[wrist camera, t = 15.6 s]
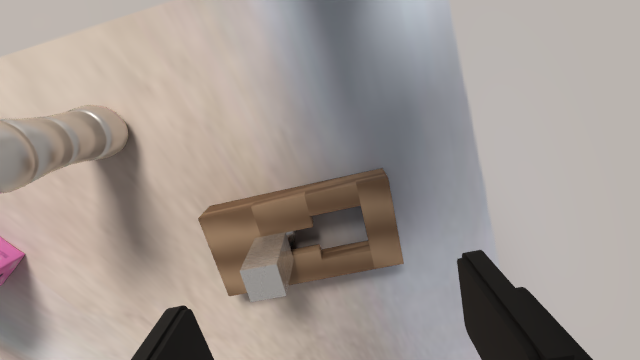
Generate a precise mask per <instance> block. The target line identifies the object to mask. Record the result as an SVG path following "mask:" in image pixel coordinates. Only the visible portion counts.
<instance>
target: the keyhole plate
mask: <svg viewBox="0 0 640 360" xmlns="http://www.w3.org/2000/svg"><path fill="white" fill-rule="evenodd" d="M356 206H361V209H362V214H363V218H364V223H365V227H366V232H367V237H368V241H363V242H358V243H353V244H348V245H343V246H338V247H332V248H327V249H322V250H321V247H320V244H318V245H313V246H308V247H303V248H298V249H293V250H291V252H292V255H293V258H294V261H293V266H292V271H291V276H290V281H289V285H292V284H297V283H303V282H308V281H313V280H319V279H324V278H329V277H335V276H340V275H345V274H351V273H356V272H361V271H367V270H372V269H377V268H383V267H388V266H393V265H399V264H404V262H403V257H402V251H401V246H400V240H399V235H398V229H397V224H396V218H395V213H394V207H393V202H392V196H391V191H390V186H389V180H388V177H387V175H386V173H385V172H384V170H383V168H381V169H376V170H372V171H367V172H363V173H358V174H354V175H349V176H344V177H340V178H335V179H331V180H326V181H322V182H317V183H313V184H308V185H304V186H299V187H294V188H290V189H285V190H281V191H276V192H272V193H267V194H263V195H258V196H254V197H249V198H245V199H240V200H235V201H231V202H226V203H222V204H217V205H213V206H209V208H208V209H207V210H206V211H205V212H204V213H203V214H202V215H201V216H200V217H199V218H198V220H199V222H200V225H201V227H202V230H203V232H204V235H205V237H206V240H207V242H208V245H209V247H210V250H211V252H212V255H213V257H214V260H215V262H216V265H217V267H218V270H219V272H220V275H221V278H222V280H223V283H224V285H225V288H226V290H227V293H228V295H229V296H234V295H239V294H244V293H247V290H246V288H245V285H244V282H243V279H242V277H241V274H240V269H241V267H242V265H243V263H244V260H245V258H246V256H247V254H248V252H249V250H250V248H251V246H252V243H253V241H254V239H255V238H258V237H263V236H268V235H273V234H278V233H283V232H291V231H295V230H300V229H305V228H310V227H313V218H312V216H314V215H318V214H323V213H328V212H333V211H337V210H342V209H347V208H352V207H356Z"/></svg>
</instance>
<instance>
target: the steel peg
mask: <svg viewBox="0 0 640 360" xmlns="http://www.w3.org/2000/svg"><path fill="white" fill-rule="evenodd" d="M295 235H296V230H295V231H291V232H283V233H278V234H273V235H268V236H263V237H258V238H255V239H254V241H253V243H252V246H251V248H250V250H249V252H248V254H247V256H246V258H245V260H244V263H243V265H242V267H241V269H240V274H241V277H242V279H243V282H244V285H245V288H246V290H247V293H248V296H249V299H250V301H251V302H255V301H260V300H266V299H272V298H277V297H283V296H287V291H288V286H289V281H290V276H291V271H292V266H293V261H294V258H293V255H292V252H291V248H290V247H291V246H292V245H293V243H294V239H295Z"/></svg>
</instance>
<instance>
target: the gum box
mask: <svg viewBox="0 0 640 360" xmlns="http://www.w3.org/2000/svg"><path fill="white" fill-rule="evenodd" d="M24 255H25V254H24V253H23V252H21V251H19V250H18V249H16V248H15V247H13V246H12V245H11V244H9V243H8V242H6V241H5V240H4V239H3V238H1V237H0V285H2V284H3V283H4V282H5V280H6V279H7V278H8V276H9V275H10V274H11V273H12V272H13V270H14V269H15V268H16V266H17V265H18V263H19V262H20V261H21V259H22V258H23V257H24Z"/></svg>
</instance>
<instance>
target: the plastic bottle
mask: <svg viewBox="0 0 640 360" xmlns="http://www.w3.org/2000/svg"><path fill="white" fill-rule="evenodd" d="M127 140H128V129H127V126H126V124H125V122H124V120H123V119H122V118H121V117H120V116H119V115H118V114H117V113H116V112H114V111H113V110H111V109H109V108H107V107H103V106H94V105H86V106H81V107H78V108H74V109H72V110H69V111H67V112H64V113H60V114H56V115H51V116H47V117H38V118H24V119H0V193H7V192H12V191H14V190H17V189H19V188H21V187H24V186H26V185H27V184H29V183H31V182H33V181H35V180H37V179H39V178H41V177H43V176H45V175H46V174H48V173H50V172H53V171H55V170H58V169H60V168H63V167H65V166H68V165H71V164H75V163H80V162H84V161H90V160H99V159H105V158H109V157H111V156H113V155H115V154H116V153H118V152H119V151H121V150H122V149H123V148H124V147H125V145H126V143H127Z"/></svg>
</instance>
